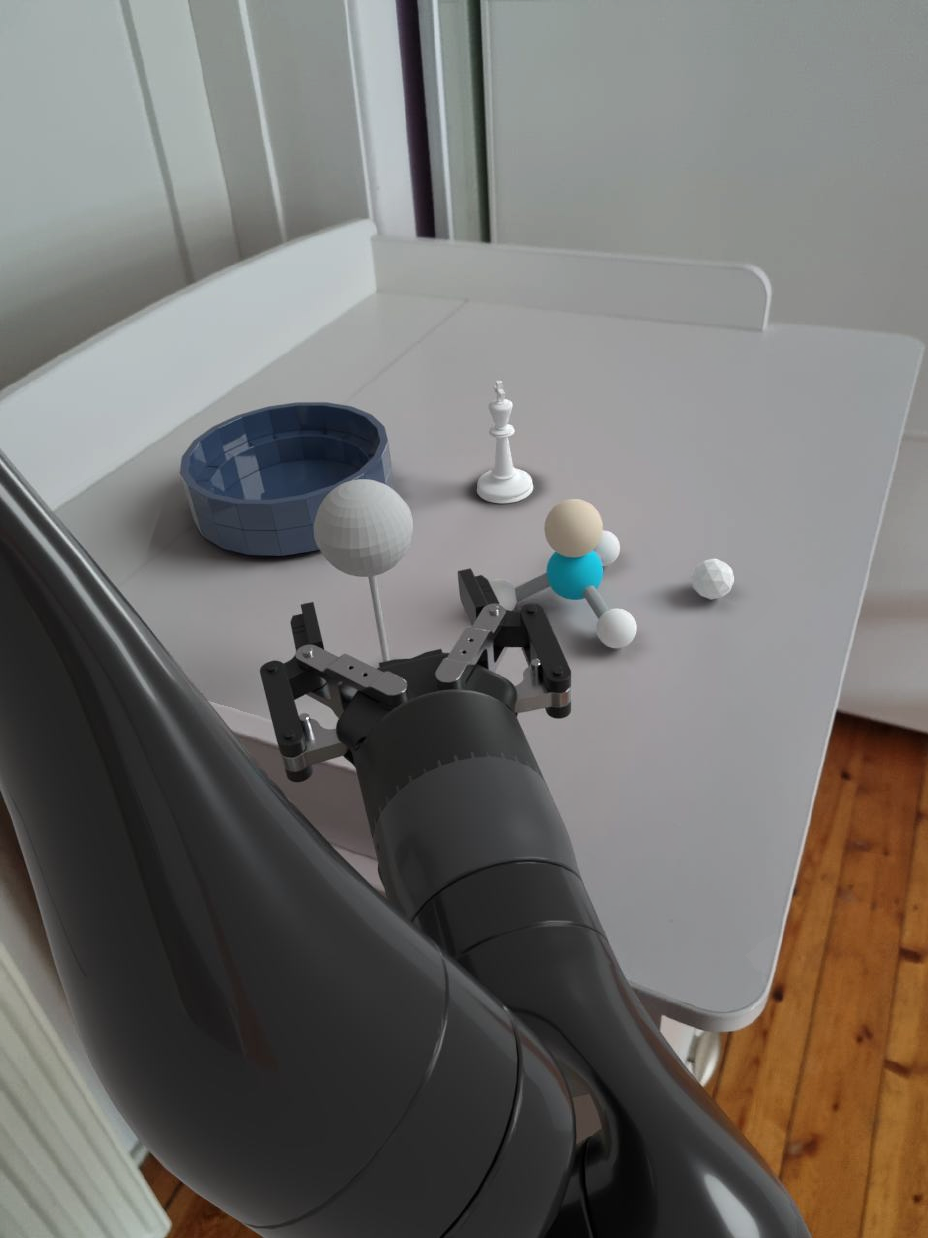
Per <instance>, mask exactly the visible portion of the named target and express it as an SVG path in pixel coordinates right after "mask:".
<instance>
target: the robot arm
mask: <svg viewBox="0 0 928 1238" xmlns="http://www.w3.org/2000/svg"><path fill="white" fill-rule="evenodd" d="M50 507H51V506H49V505H48V503H46V501H45V500H44V499H43V498H42V497H41V495H40V494H39V493H38V491H37V490H36V489H35V488H34V487H33V485H31V483H30V482H29V481H28V480H27V479H26V477H25V476H24V475H23V474H22V473H21V471H20V470H19V469H18V467H17V466H16V465H15V464H14V463H13V461H11V459H10V458H9V457H8V456H7V455H6V453H5V452H4V451H3V449H2V448H0V793H1V796H2V798H3V801H4V803H5V805H6V808H7V811H8V813H9V816H10V818H11V822H12V825H13V828H14V831H15V835H16V838H17V841H18V844H19V847H20V850H21V853H22V856H23V859H24V863H25V866H26V869H27V872H28V876H29V879H30V882H31V885H32V888H33V892H34V894H35V895H34V896H35V898H36V903H37V905H38V909H39V912H40V916H41V920H42V923H43V926H44V927H43V928H44V930H45V935H46V938H47V941H48V944H49V948H50V951H51V955H52V959H53V963H54V966H55V967H56V968H55V969H56V972H57V975H58V977H59V980H60V984H61V987H62V990H63V993H64V996H65V998H66V1001H67V1004H68V1007H69V1011H70V1014H71V1017H72V1019H73V1023H74V1025H75V1029H76V1031H77V1035H78V1037H79V1039H80V1042H81V1044H82V1046H83V1048H84V1051H85V1053H86V1055H87V1057H88V1060H89V1062H90V1065H91V1067H92V1068H93V1070H94V1072H95V1074H96V1076H97V1078H98V1079H99V1082H100V1083H101V1085H102V1086H103V1088H104V1090H105V1092H106V1094H107V1095H108V1098H109V1100H110V1101H111V1103H112V1104H113V1106H114V1107H115V1108H116V1110H117V1112H118V1113H119V1115H120V1116H121V1117H122V1118H123V1120H124V1122H125V1123H126V1124H127V1126H128V1127H129V1129H131V1131H132V1133H133V1134H134V1135H135V1137H136V1138H137V1139H138V1141H139V1142H140V1144H142V1145H143V1146H144V1147H145V1149H146V1150H147V1151H148V1152H149V1153H150V1154H151V1155H152V1156H153V1157H154V1158H155V1160H157V1161H158V1162H159V1163H160V1164H161V1165H162V1166H163V1168H164V1169H166V1171H168V1172H169V1173H170V1174H171V1175H173V1176H174V1177H175V1178H177V1179H178V1180H179V1181H180V1182H182V1184H184V1185H185V1186H186V1187H187V1188H189V1189H190V1190H192V1192H194V1193H195V1194H197V1195H198V1196H200V1198H201V1197H202V1198H203V1199H204V1200H206V1201H208V1202H209V1203H211V1204H212V1205H214V1207H217V1208H218V1209H219V1210H221V1211H222V1212H224V1213H226V1214H227V1215H229V1216H231V1217H232V1218H233V1219H235V1220H236V1221H238V1222H239V1223H241V1224H242V1225H244V1226H245V1227H247V1228H248V1229H249V1230H251V1231H252V1232H255V1233H256V1234H258V1235H259V1236H260V1237H262V1238H813V1236H812V1233H811V1231H810V1229H809V1226H808V1225H807V1222H806V1220H805V1219H804V1216H803V1214H802V1212H801V1210H800V1209H799V1207H798V1205H797V1203H796V1202H795V1200H794V1199H793V1196H792V1195H791V1194H790V1192H789V1190H788V1189H787V1187H786V1186H785V1185H784V1183H783V1182H782V1181H781V1180H780V1178H779V1176H777V1174H776V1173H775V1171H774V1170H773V1169H772V1167H771V1166H770V1165H769V1163H768V1162H767V1161H766V1160H765V1158H764V1156H763V1155H762V1154H761V1153H760V1152H759V1151H758V1150H757V1148H756V1147H755V1146H754V1145H753V1144H752V1143H751V1141H750V1140H749V1139H748V1138H747V1136H745V1134H744V1133H743V1132H742V1131H741V1130H740V1129H739V1128H738V1127H739V1126H737V1125H736V1124H735V1122H734V1121H733V1120H732V1119H731V1118H730V1117H729V1116H728V1115H727V1113H726V1112H725V1111H724V1110H723V1109H722V1108H721V1106H720V1105H719V1104H718V1103H717V1102H716V1101H715V1100H714V1098H713V1097H712V1096H711V1095H710V1093H709V1092H708V1091H707V1090H706V1089H705V1088H704V1087H703V1085H702V1084H701V1083H700V1081H699V1080H698V1079H697V1078H696V1077H695V1076H694V1073H692V1072H691V1070H689V1068H688V1067H687V1066H686V1064H685V1063H684V1062H683V1060H682V1059H681V1058H680V1056H679V1054H677V1052H676V1051H675V1050H674V1048H673V1047H672V1046H671V1044H670V1042H669V1041H668V1040H667V1038H666V1037H665V1035H664V1034H663V1032H661V1031H660V1029H659V1027H658V1026H657V1025H656V1023H655V1022H654V1020H653V1019H652V1017H651V1015H650V1014H649V1013H648V1011H647V1010H646V1008H645V1006H644V1005H643V1004H642V1001H640V999H639V997H638V996H637V994H636V993H635V992H634V990H633V988H632V986H631V984H630V983H629V981H628V979H627V978H626V977H627V976H626V975H625V973H624V972H623V970H622V967H621V965H620V963H619V960H618V959H617V956H616V954H615V952H614V950H613V948H612V945H611V944H610V941H609V940H608V939H609V938H608V936H607V934H606V931H605V930H604V927H603V926H602V923H601V921H600V919H599V916H598V914H597V912H596V909H595V907H594V904H593V902H592V900H591V897H590V896H589V894H588V891H587V888H586V886H585V883H584V881H583V878H582V876H581V872H580V869H579V866H578V861H577V857H576V855H575V850H574V847H573V842H572V839H571V837H570V835H569V834H570V833H569V832H568V828H567V827H566V824H565V822H564V820H563V818H562V816H561V813H560V811H559V808H558V806H557V804H556V801H555V799H554V798H553V795H552V793H551V791H550V789H549V787H548V784H547V782H546V780H545V776H544V775H543V773H542V771H541V768H540V766H539V763H538V761H537V759H536V757H535V755H534V753H533V750H532V748H531V746H530V743H529V741H528V739H527V737H526V734H525V732H524V730H523V728H522V726H521V723H520V721H519V719H518V714H521V713H522V714H523V713H526V712H531V711H536V710H542V709H544V710H545V712H546V714H547V715H548V716H549V717H551V718H552V719H556V720H557V719H558V720H559V719H560V720H561V719H564V718H567V717H568V716H570V715H571V713H572V670H571V668H570V665H569V663H568V661H567V659H566V656H565V653H564V652H563V649H562V647H561V645H560V643H559V641H558V638H557V636H556V634H555V632H554V629H553V627H552V625H551V622H550V620H549V617H548V615H547V613H546V611H545V609H544V607H543V606H542V605H541V604H538V603H526V604H524V605H523V606H521V608H520V609H519V610H512V611H509V610H506V609H505V607H504V606H503V605H501V604H500V603H499V601H498V599H497V597H496V595H495V593H494V591H493V589H492V587H491V585H490V583H489V581H490V580H489V579H488V578H486V577H485V576H484V575H482V574H480V575H475V573H474V572H473V569H472V568H466V569H460V570H457V582H458V591H459V598H460V602H461V605H462V608H463V610H464V613H465V614H466V616H467V618H468V621H469V623H470V625H466V627H465V628H464V630H463V631H462V633H461V635H460V636H459V637H458V639H457V641H456V643H455V644H454V645H453V647H452V648H451V651H450V652H443V650H442V648H437V649H433V650H429V651H425V652H422V653H420V654H418V655H416V656H414V657H410V658H395V659H389V661H385V662H383V661H381V662H378V667H377V668H375V667H374V666H372V665H369V664H368V663H365V662H363V661H362V660H359V659H358V658H355V657H353V656H351V655H350V654H347V653H342V654H341V655H340V656H337V655H335V654H333V653H331V652H329V651H327V650H326V649H325V646H324V642H323V641H324V640H323V637H322V633H321V628H320V623H319V619H318V615H317V611H316V606H315V603H314V601H310V602H306V603H302V604H300V608H301V609H300V610H301V613H298V614H294V615H292V617H291V619H290V629H291V634H292V639H293V643H294V648H295V649H294V650H295V653H294V655H293V657H292V658H290V659H289V660H287V661H286V662H284V663H283V661H280V660H269V661H267V662H265V663H264V664H262V665H261V666H260V668H259V675H260V678H261V682H262V686H263V690H264V695H265V698H266V704H267V707H268V712H269V715H270V719H271V723H272V727H273V731H274V735H275V739H276V743H277V746H278V750H279V754H280V757H281V760H282V764H283V769H284V771H285V774H286V778H287V779H288V780H289V781H290V782H292V783H302V782H305V781H307V780H309V779H310V778H311V777H312V775H313V773H314V769H313V765H316V764H320V763H323V762H327V761H331V760H334V759H336V758H337V759H338V758H341V757H343V758H344V759H345V760H346V761H348V762H349V763H350V764H351V765H352V766H353V767H354V768H355V772H356V775H357V780H358V784H359V788H360V793H361V797H362V800H363V805H364V809H365V813H366V817H367V822H368V826H369V830H370V834H371V835H370V836H371V838H372V843H373V846H374V851H375V855H376V859H377V874H378V877H379V880H380V882H381V884H382V886H383V889H384V893H385V896H386V897H385V896H384V895H383V894H381V892H379V891H378V890H377V889H376V888H375V887H374V886H373V885H372V884H371V883H370V882H369V881H368V880H367V879H366V878H365V877H364V876H363V875H362V874H361V873H360V872H359V871H357V870H356V868H355V867H354V866H353V865H352V864H351V863H350V862H349V861H347V860H346V858H345V857H343V855H341V853H340V852H339V851H337V850H336V848H335V847H334V846H333V845H332V844H331V843H330V841H328V840H327V839H326V837H325V836H324V835H323V834H322V833H321V832H320V831H319V830H318V829H317V827H315V826H314V825H313V824H312V822H311V821H310V820H309V819H308V818H307V817H306V816H305V815H304V814H303V813H302V812H301V811H300V809H299V808H298V806H296V805H295V804H294V803H293V801H292V800H290V798H289V797H288V795H286V793H285V792H284V791H283V790H282V788H280V787H279V785H278V784H277V782H275V781H274V780H273V778H272V777H271V776H270V775H269V774H268V773H267V771H266V770H265V769H264V768H263V767H262V765H261V764H260V763H259V762H258V761H257V760H256V758H254V756H253V755H252V754H251V752H249V750H248V749H247V748H246V746H245V745H244V744H243V743H242V741H241V740H240V739H239V738H238V736H237V735H236V734H235V733H234V731H233V730H232V728H230V726H229V725H228V723H227V722H226V721H225V720H224V718H223V717H222V716H221V715H220V714H219V712H218V711H217V709H216V708H215V707H214V706H213V705H212V704H211V702H210V701H209V700H208V698H207V697H206V696H205V695H204V693H202V691H201V690H200V689H199V688H198V686H197V685H196V684H195V682H194V680H192V678H191V677H190V676H189V675H188V674H187V673H186V671H185V670H184V669H183V668H182V666H181V665H180V664H179V662H178V661H177V660H176V659H175V657H174V656H173V655H172V654H171V653H170V651H169V650H168V649H167V648H166V647H165V646H164V644H163V643H162V642H161V641H160V640H159V638H158V637H157V636H156V634H155V632H153V631H152V629H151V628H150V627H149V625H148V624H147V623H146V622H145V621H144V619H143V618H142V616H141V615H140V614H139V613H138V611H137V610H136V609H135V607H134V606H132V604H131V603H130V602H129V601H128V599H127V597H125V596H124V594H122V592H121V591H120V590H119V589H118V587H117V586H116V585H115V583H114V582H113V581H112V580H111V579H110V577H109V576H108V575H107V573H106V572H105V571H104V570H103V569H102V568H101V566H100V565H99V564H98V563H97V562H96V560H95V559H94V558H93V557H92V556H91V554H90V553H89V552H88V551H87V549H86V548H85V547H84V546H83V544H82V543H81V542H80V541H79V540H78V539H77V538H76V536H75V535H74V534H73V533H72V532H71V531H70V529H69V528H68V527H67V526H66V525H65V523H64V522H63V521H62V520H61V519H60V518H59V517H58V516H57V514H56V513H55V512H54V511H53V510H52V508H50ZM508 648H521V651H522V653H523V656H524V659H525V661H526V663H527V666H528V667H526V668H525V669H524V671H523V673H522V674H523V675H522V676H523V680H522V681H521V682H519V684H516V685H514V684H513V683H512V681H510V680H509V679H508V678H506V677H504V676H503V675H500V674H499V673H496V672H497V669H498V667H499V665H500V663H501V662H502V659H503V657H504V656H505V655H506V652H507V651H508ZM305 695H306V696H307V697H309V698H311V699H313V700H315V701H316V702H319V703H320V704H323V705H324V706H326V707H327V708H330V709H331V710H332V712H333V714H334V715H335V716H336V718H338V719H337V722H336V724H335V728H330V729H329V728H324V727H322V726H321V724H320V723H319V721H318V720H316V719H314V718H311V717H310V714H309V713H307V712H306V713H305V712H304V713H301V714H299V712H298V709H297V708H298V707H297V705H296V700H298V699H300V698H301V697H303V696H305ZM586 1095H589V1096H590V1098H591V1100H592V1103H593V1104H594V1106H595V1107H594V1108H595V1109H596V1111H597V1115H598V1118H599V1123H600V1129H598V1130H597V1131H595V1132H594V1133H593V1134H592V1135H589V1136H587V1137H585V1138H584V1139H582V1140H580V1141H579V1142H577V1140H578V1139H577V1138H578V1137H577V1136H578V1135H577V1134H578V1133H577V1116H576V1110H575V1103H574V1100H573V1098H577V1097H581V1096H586Z"/></svg>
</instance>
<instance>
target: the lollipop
mask: <svg viewBox="0 0 928 1238" xmlns="http://www.w3.org/2000/svg"><path fill="white" fill-rule="evenodd" d="M413 529H414V520H413V515H412V512H411V509H410V507H409V505H408V504H407V502H406V501H405V500H404V499H403V497H402V496H401V495H400V494H399V493H398V492H396V490H395V491H394V490H393V489H392V488H390V487H389V486H387V485H385V484H383V483H380V482H377V481H374V480H369V479H358V480H352V481H348V482H345V483H343V484H341V485H339V486H338V487H336V488H335V489H333V490H332V491H331V492H330V493H329V494H328V495H327V496H326V497H325V499H324V500H323V501H322V503H321V504H320V507H319V509H318V511H317V515H316V518H315V522H314V539H315V542H316V544H317V546H318V548H319V549H318V550H319V551H320V553H321V554H322V556H323V557H324V559H326V561H327V562H328V563H329V564H330V565H331V566H332V567H334V568H335V569H336V570H337V571H340V572H342V573H344V574H346V575H349V576H352V577H359V578H368V583H369V588H370V589H369V590H370V594H371V600H372V601H371V602H372V607H373V611H374V618H375V623H376V629H377V635H378V640H379V641H378V642H379V647H380V653H381V659H382V662H385V661H389V660H390V654H389V648H388V642H387V636H386V629H385V624H384V618H383V613H382V612H383V611H382V605H381V601H380V594H379V588H378V581H377V576H379V575H383V574H384V573H387V572H388V571H390V570H392V569H393V568H394V567H396V566H397V565H398V563H400V561H401V560H402V559H403V558H404V557H405V555H406V553H407V552H408V549H409V547H410V545H411V542H412V537H413Z"/></svg>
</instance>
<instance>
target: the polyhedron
mask: <svg viewBox="0 0 928 1238" xmlns="http://www.w3.org/2000/svg"><path fill="white" fill-rule="evenodd" d="M691 583H692V589H694V590H695V592H696V593H697V594H698V595H699V596H700V597H703V598H706V599H708V600H715V599H720V598H723V597H724V596H726V595H727V594H729V592H731V590H732V587H733V585H734V583H735V577H734V571H733V568H731V567H730V566H729V564H727V563H726V562H725V561H722V560H720V559H718V558H715V557H713V558H709V559H706V560H702V562H700V563H699V564H696V565H695V567H694V569H693V571H692V574H691Z"/></svg>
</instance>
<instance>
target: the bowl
mask: <svg viewBox="0 0 928 1238" xmlns="http://www.w3.org/2000/svg"><path fill="white" fill-rule="evenodd" d="M389 444H390V443H389V439H388V434H387V429H386V427H385V425H384V424H382V422H380V420H378V419H377V418H376V417H375V416H374V415H373V414H371V413H369V412H367V411H365V410H362V409H359V408H357V407H355V406H352V405H346V404H341V403H333V402H329V401H327V402H326V401H307V402H306V401H301V402H300V401H299V402H298V401H297V402H296V401H295V402H290V403H283V404H276V405H270V406H269V405H268V406H264V407H261V408H257V409H254V410H251V411H247V412H244V413H241V414H237V415H235V416H232V417H230V418H229V419H226V420H224V421H222V422H220V423H217V424H215V425H213V426H211V427H210V428H208V429H207V430H206V431H204V432H203V433H201V434H200V435H199V436H197V437H196V438H195V439H194V440H193V441H192V442H191V443H190V444H189V446H188V448H186V450H185V451H184V453H183V454H182V456H181V460H180V466H179V467H180V469H179V476H180V479H181V482H182V486H183V488H184V492H185V495H186V499H187V502H188V506H189V509H190V513H191V516H192V519H193V522H194V524H195V525H196V528H197V529H198V531H199V533H200V534H201V537H203V538H205V539H206V540H208V541H209V542H211V543H212V544H213V545H216V546H217V547H219V548H221V549H223V550H227V551H231V552H235V553H238V554H239V553H240V554H243V555H247V556H275V557H277V556H279V557H280V556H282V557H283V556H289V555H296V554H302V553H309V552H313V551H315V552H316V551H318V550H320V549H319V548H318V546H317V544H316V542H315V539H314V522H315V518H316V515H317V511H318V509H319V507H320V504H321V503H322V501H323V500H324V499H325V497H326V496H327V495H328V494H329V493H330V492H331V491H332V490H333V489H335V488H336V487H338V486H339V485H341V484H343V483H345V482H348V481H352V480H358V479H369V480H374V481H377V482H380V483H383V484H385V485H387V486H389V487H390V488H392V489H393V490H394V491H395V492H396V488H395V480H394V474H393V473H394V472H393V467H392V459H391V451H390V445H389Z"/></svg>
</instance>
